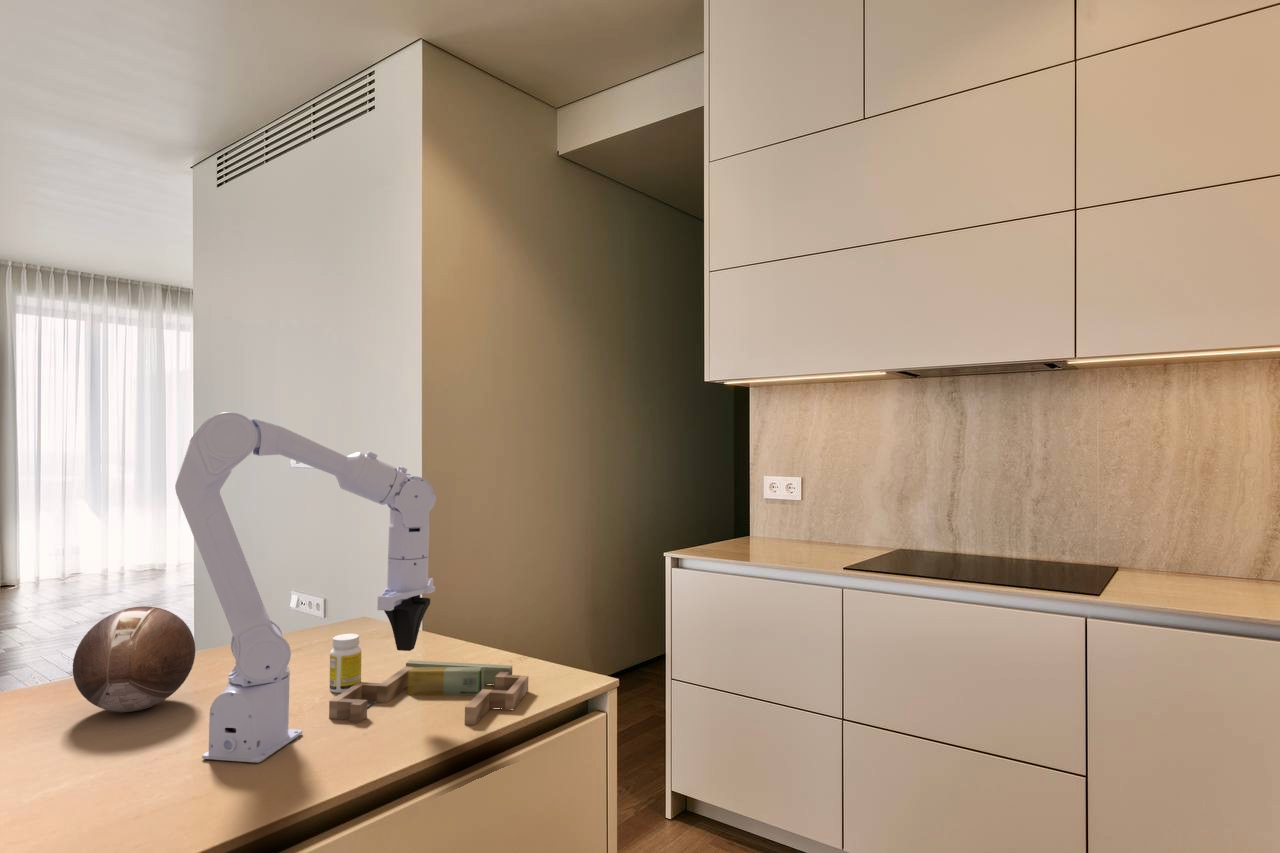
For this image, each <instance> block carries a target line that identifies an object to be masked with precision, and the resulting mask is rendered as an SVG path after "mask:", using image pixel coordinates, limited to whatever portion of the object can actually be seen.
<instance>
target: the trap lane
mask: <svg viewBox="0 0 1280 853" xmlns="http://www.w3.org/2000/svg"><path fill="white" fill-rule="evenodd" d="M413 667H485V684H494V685H495V686H494V689H485V688H484V689H482V690H481V691H480V692H479V693H478V694H477V695H474V697H473V698H471V700H470V701H469V702H468V703H467V705H465V706H464V725H466V724H467V725H466V726H476V724H478V722H479V721H480V720H481V719H482V718H483V717H484V715H485V714H486V713H487V712H488V711H489V710H490V709H489V708H500V709H501V708H502V709H514V707H515V706H516V705H517V704H518V702H519V701H520V700H521V698H522V697H523V696H524V695H525V694H526V692H527V691H528V692H529V675H517V674H513V665H509V664H490V663H469V662H450V661H430V660H429V661H428V660H412V659H411V660H408V661H407V662H405V666H403V667H402V668H400V669H399V670H398V671H397V672H395V673H394V674H392V675H390V676H389V677H388V678H386V679H385V680H383V681H382V682H381V683H380V682H369V681H368V682H365V681H361V682H358V683H356V684H355V685H353V686H352V687H350V688H349V689H347V690H346V691H344V692H342V693H338V694H337V695H336V696H335V697H334V698H331V699H330V700H329V701H328V702H329V703H328V705H329V706H328V719H332V720H333V719H335V720H349V722H350V723H361V722H363V721H364V720H365V719H367V718H368V709H369V708H370V707H372V705H375V703H388V702H389V701H390V700H392V699H393V698H394V697H396V696H397V695H398V694H399V693H401V692H402V691H404V690H405V689H406V688H408V672H409V670H410V669H412V668H413ZM528 692H527V693H528ZM526 695H527V694H526ZM526 695H525V696H526ZM525 696H524V697H525ZM524 697H523V698H524ZM521 701H522V700H521ZM521 701H520V702H521ZM520 702H519V703H520ZM518 705H519V704H518ZM518 705H517V706H518ZM517 706H516V707H517ZM516 707H515V708H516ZM488 709H489V710H488ZM487 710H488V711H487ZM514 710H515V709H514ZM486 711H487V712H486ZM485 712H486V713H485ZM484 713H485V714H484ZM482 716H483V717H482ZM481 717H482V718H481ZM480 718H481V719H480ZM479 719H480V720H479ZM478 720H479V721H478ZM477 721H478V722H477Z"/></svg>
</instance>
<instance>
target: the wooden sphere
mask: <svg viewBox="0 0 1280 853" xmlns="http://www.w3.org/2000/svg"><path fill="white" fill-rule="evenodd" d="M195 658H196V642H195V638H194V636H193V633H192V630H191V629H190V627H189V626H188V625H187V623H186V622H185V621H184V620H183V619H182V618H181V617H180V616H178V615H176V614H175V613H173V612H171V611H169V610H166V609H164V608H160V607H155V606H133V607H128V608H125V609H122V610H117V611H116V612H114V613H111V614H109V615H108V616H106V617H105V618H102V619H101V620H99V621H98V622H97V623H95V624H94V626H92V627H91V628H90V629H89V630H88V631H87V633H86V634H85V635H84V636H83V638H81V641H80V642H79V644H78V646H77V647H76V650H75V653H74V657H73V662H72V677H73V681H74V684H75V686H76V689H77V690H78V691H79V693H80V694H81V695H82V696H83V698H85V699H86V700H87V702H89V703H90V704H92V705H93V706H95V707H97V708H100V709H102V710H106V711H110V712H115V713H132V712H137V711H142V710H146V709H148V708H151V707H154V706H155V705H156V706H157V705H158V704H160V703H162V702H163V701H165V700H167V699H168V698H169V697H171V696H172V695H173V694H174V693H175V692H176V691H178V690H179V689H180V688H181V686H182V685H183V684H184V682H185V681H186V680H187V678H188V677H189V675H190V673H191V671H192V669H193V666H194V663H195Z"/></svg>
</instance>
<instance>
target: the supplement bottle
mask: <svg viewBox="0 0 1280 853" xmlns="http://www.w3.org/2000/svg"><path fill="white" fill-rule="evenodd" d="M359 645H360V635H359V634H357V633H343V634H338V635H335V636H334V637H333V638H332V647H333V648H332V649H331V650H330V652H329V691H330V692H332V693H337V694H341V693H342V692H344V691H346V690H347V689H349V688H350V687H352V686H353V685H355V684H356V683H358V682H362V648H361V647H360V646H359Z"/></svg>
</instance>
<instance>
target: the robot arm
mask: <svg viewBox="0 0 1280 853" xmlns="http://www.w3.org/2000/svg"><path fill="white" fill-rule="evenodd" d="M251 454H252V455H254V456H257V457H260V456H261V457H262V456H263V457H264V456H275V455H276V456H277V455H280V456H283V457H285V458H288V459H291V460H293V461H295V462H299V463H300V464H304V465H306V466H309V467H312V468H314V469H317V470H319V471H322V472H324V473H327V474H330V475H333V476H334V477H335V478H336V479H337V482H338V485H339V487H340V489H342V490H343V491H346V492H349V493H351V494H354V495H356V496H359V497H361V498H364V499H366V500H369V501H371V502H374V503H376V504H379V505H381V506H384V505H387V507H388V508H389V509H390V510H389V513H390V514H389V526H388V545H387V546H388V548H387V550H388V551H387V552H388V553H387V554H388V555H387V575H386V576H387V581H386V582H387V583H386V587H385V588H384V590H383V591H382V593H381V594H380V595H378V596H377V611H384V613H385V615H386V617H387V619H388V621H389V623H390V626H391V628H392V634H393V637H394V641H395V642H394V643H395V647H396V650H397V651H402V652H411V651H413V650H414V649H415V648H416V647H415V646H416V642H417V640H418V636H419V631H420V627H421V624H422V621H423V619H424V616H425V614H426V612H427V610H428V608H429V606H430V605H431V598H429V597H421V595H425V594H432V593H434V592H436V586H434V578H433V577H429V556H430V555H429V551H430V550H429V548H430V546H429V545H430V511H431V510H432V509H433V508H434V506H435V504H436V501H437V495H435V492H434V488H433V485H431V484H430V482H429V481H428V480H427V479H426V478H424V477H421V476H415V475H412V474H411V473H407V472H408V468H406V467H404V466H401V465H400V466H399V467H395V466H394V465H391V464H388V463H387V462H384V461H382V460H379V459H377V457H378V454H376V453H374V452H372V451H366V453H364V452H361V451H357V452H353V453H351V454H349V455H344V454H342V453H340V452H337V451H336V450H333V449H332V448H330V447H328V446H325V445H323V444H320V443H318V442H316V441H314V440H311V439H309V438H307V437H305V436H303V435H301V434H299V433H297V432H294V431H292V430H290V429H287V428H286V427H283V426H281V425H277V424H274V423H270V422H269V421H264V420H260V419H256V418H251V419H250V418H248V417H247V416H245V415H243V414H242V413H239V412H234V411H233V412H232V411H230V412H229V411H226V412H220V413H217V414H215V415H213V416H211V417H209V418H208V419H206V420H205V421H203V423H202V424H201V426H200V427H199V428H198V429H197V431H196V432H194V434H193V435H192V436H191V438H190V440H189V443H188V446H187V449H186V452H185V455H184V458H183V461H182V464H181V467H180V469H179V473H178V475H177V478H176V481H175V488H174V489H175V494H176V496H177V499H178V501H179V504H180V506H181V508H182V512H183V514H184V516H185V518H186V521H187V524H188V526H189V529H190V531H191V533H192V536H193V538H194V540H195V543H196V546H197V548H198V550H199V552H200V553H199V554H200V556H201V559H202V560H203V563H204V565H205V568H206V571H207V573H208V575H209V578H210V581H211V584H212V585H213V587H214V590H215V593H216V595H217V598H218V600H219V603H220V606H221V608H222V610H223V613H224V616H225V618H226V621H227V623H228V625H229V627H230V631H231V633H232V637H231V641H230V649H231V654H232V656H233V657H234V659H235V666H234V668H233V669H232V671H231V672H229V674H228V681H227V685H226V687H225V689H224V690H223V691H222V692H221V694H219V695H218V696H217V697H216V698H215V699H214V700H213V702H211V703H212V704H211V706H210V709H209V714H208V715H209V717H208V718H209V719H208V720H209V721H208V722H209V724H208V726H209V727H208V751H206V752H204V753H203V754H202V756H201V759H203V760H214V761H228V762H229V761H231V762H244V763H257V764H258V763H261V762H263V761H264V760H265V759H267V758H268V757H270V756H271V755H273V754H274V753H275V752H278V750H280V749H282V748H283V747H285V746H286V745H288V744H289V743H290V742H291V741H293V740H295V739H296V738H298V737H299V736H300V735H302V734H303V729H297V728H294V729H293V728H289V726H290V725H289V724H290V721H289V720H290V719H289V716H290V679H291V678H290V677H291V676H290V672H291V669H290V667H289V666H288V665H289V663H290V662H291V655H292V651H291V646H290V644H289V642H288V640H286V638H285V637H284V636H283V633H282V630H281V628H280V626H278V625H279V624H277V623H275V622H274V621H273V620H271V619H270V616H269V614H268V611H267V610H266V608H265V605H264V602H263V599H262V598H261V597H262V596H261V595H260V593H259V590H258V587H257V585H256V583H255V579H254V577H253V575H252V572H251V569H250V566H249V564H248V561H247V559H246V557H245V554H244V552H243V549H242V545H241V543H240V542H239V538H238V537H237V534H236V531H235V528H234V527H233V523H232V522H231V518H230V516H229V514H228V511H227V508H226V505H225V503H224V500H223V498H222V496H221V489H222V488H223V486H224V484H225V483H226V481H227V479H229V477H230V475H231V474H232V470H233V469H234V468H236V467H237V466H238V465H239V464H240V463H242V462H243V461H244V460H245V459H247V457H248V456H250V455H251Z"/></svg>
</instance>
